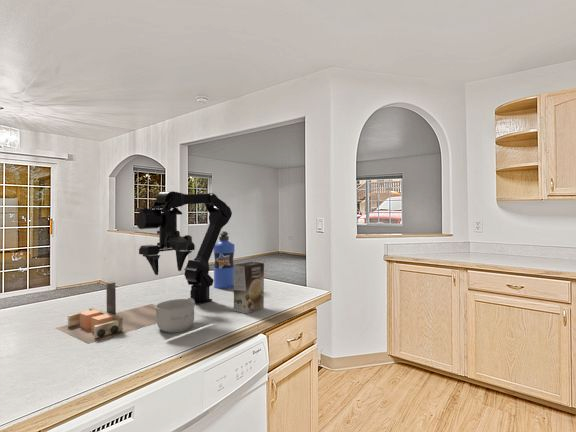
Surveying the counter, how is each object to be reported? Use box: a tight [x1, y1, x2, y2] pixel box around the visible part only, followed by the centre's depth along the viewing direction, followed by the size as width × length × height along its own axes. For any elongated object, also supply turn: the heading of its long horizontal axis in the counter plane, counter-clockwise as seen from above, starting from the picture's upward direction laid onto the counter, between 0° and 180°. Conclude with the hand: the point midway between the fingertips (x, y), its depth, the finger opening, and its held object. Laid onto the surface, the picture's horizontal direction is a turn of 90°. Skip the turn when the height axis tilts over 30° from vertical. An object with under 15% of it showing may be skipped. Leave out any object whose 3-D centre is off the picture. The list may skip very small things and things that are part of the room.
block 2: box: [91, 314, 113, 332], centre depth 97 cm, size 4×4×4 cm
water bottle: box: [213, 231, 235, 290], centre depth 155 cm, size 9×9×25 cm
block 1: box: [79, 310, 101, 329], centre depth 101 cm, size 4×4×4 cm
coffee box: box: [233, 261, 265, 314], centre depth 120 cm, size 9×6×16 cm
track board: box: [55, 303, 157, 345], centre depth 106 cm, size 31×20×1 cm, turn 145°
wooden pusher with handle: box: [67, 281, 123, 338], centre depth 99 cm, size 10×18×12 cm, turn 55°
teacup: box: [155, 297, 196, 334], centre depth 101 cm, size 14×11×8 cm
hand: (168, 272), depth 118 cm, fingers open, 9 cm apart
